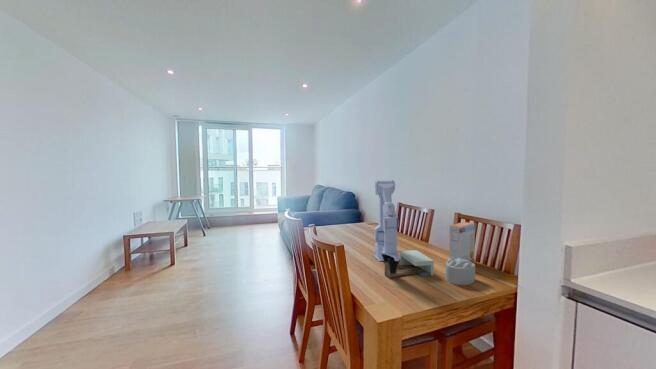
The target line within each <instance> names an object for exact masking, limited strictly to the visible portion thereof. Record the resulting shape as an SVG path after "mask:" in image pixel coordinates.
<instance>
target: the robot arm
mask: <svg viewBox="0 0 656 369" xmlns="http://www.w3.org/2000/svg"><path fill="white" fill-rule="evenodd" d="M374 189H375V190H374V191H375V192H374V193H375V195H377V196H378V197H379V198H378V199H379V224H378V225H377V226H375V227H374V231H373V232H374V233H373V235H374V236H373V238H374V242H375V244H374V254H373V257H374V258H375V259H377V261H379V262H383V263H384V264H385V262H387V261H388V263H389V268H390V273H391V274H395V272H396V269H397V270H398V265H400V255H399V253H398V229H399V226H400V224H399V223H400V221H399V216H398V215H397V212H396V206H395V203H393V201H392V200H393V199H392V195H393V194H394V193H395V190H396V182H395V180H394V179H380V180H379V179H376V180H375V181H374Z"/></svg>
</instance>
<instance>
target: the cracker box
mask: <svg viewBox="0 0 656 369" xmlns="http://www.w3.org/2000/svg"><path fill="white" fill-rule="evenodd" d="M475 225H476V224H475V223H474V222H468V221H463V222H458V223H453V224H449V259H450V258H453V259H458V258H461V259H464V260H469V261H470V262H472V263H475V242H476V241H475V238H476V237H475V236H476V235H475V233H476V232H475V230H476V229H475V228H476V227H475Z"/></svg>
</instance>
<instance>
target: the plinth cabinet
mask: <svg viewBox="0 0 656 369" xmlns="http://www.w3.org/2000/svg"><path fill="white" fill-rule="evenodd" d="M399 257H400V262H399V265H400V266H406V265H413V266H415V267H417V268H418V267H420V268H422V269H424V270H425V271H427V272H429V276H434V266H435V265H434V263H435V262H434V260H433V259H432V258H430V257H429V256H426V255H425V254H423V253H422V252H420V251H418V250H417V249H415V250H413V249H411V250H400V251H399Z"/></svg>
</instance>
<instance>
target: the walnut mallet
mask: <svg viewBox="0 0 656 369" xmlns="http://www.w3.org/2000/svg"><path fill="white" fill-rule="evenodd" d="M416 270H422V268H420V267H418V266H417V267H414V268H413V267H412V268H405V269H404V268H403V269H398V268H397V269H396V272H395V274H391V273H390V268H389V263H388V261H387V262H385V263H384V275H385V276H386V277H387V278H389V279H390V278H397V277H400V276H407V275H413V274H416ZM423 270H424V269H423Z"/></svg>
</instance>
